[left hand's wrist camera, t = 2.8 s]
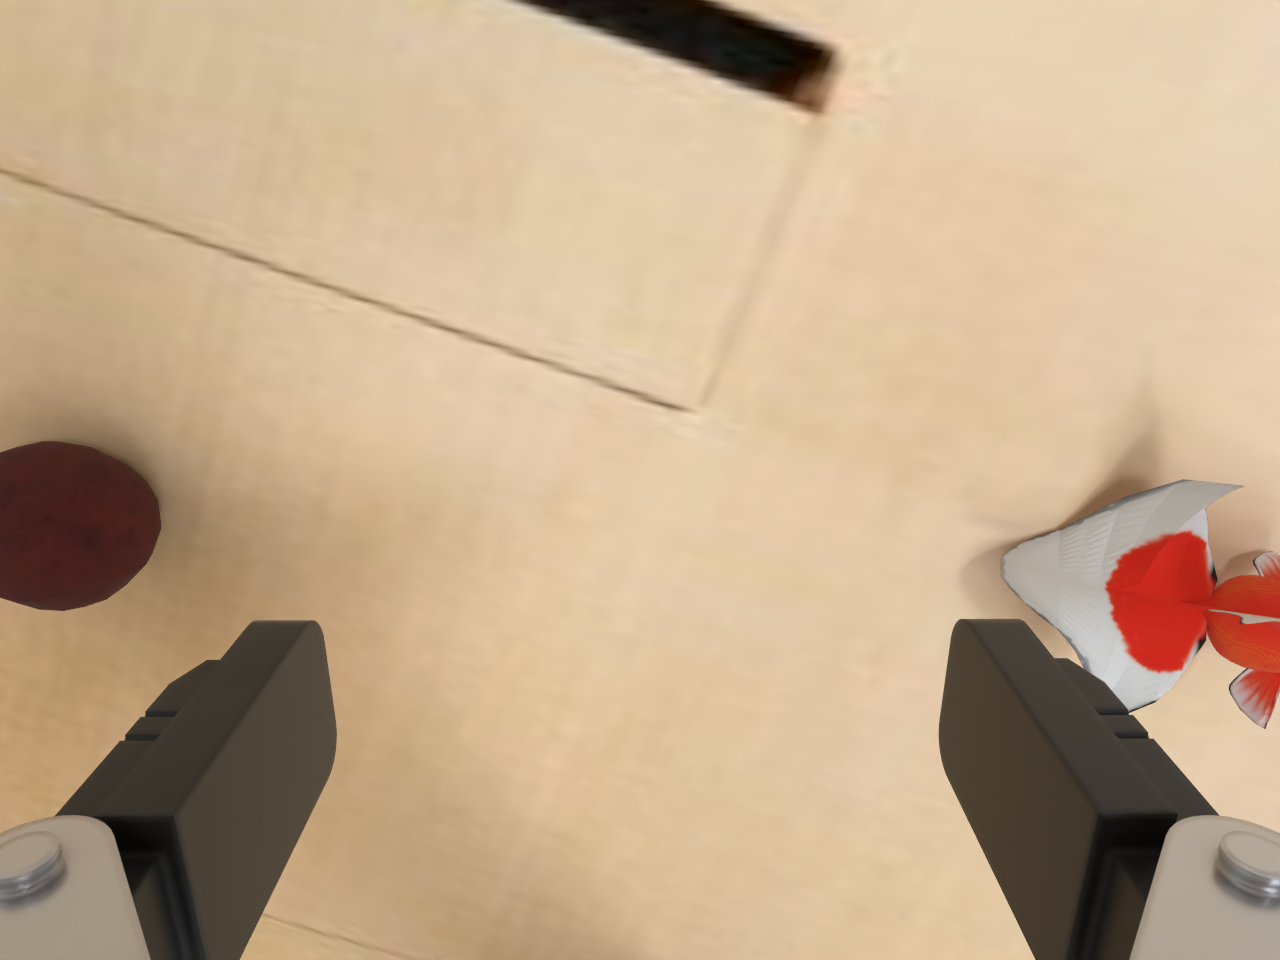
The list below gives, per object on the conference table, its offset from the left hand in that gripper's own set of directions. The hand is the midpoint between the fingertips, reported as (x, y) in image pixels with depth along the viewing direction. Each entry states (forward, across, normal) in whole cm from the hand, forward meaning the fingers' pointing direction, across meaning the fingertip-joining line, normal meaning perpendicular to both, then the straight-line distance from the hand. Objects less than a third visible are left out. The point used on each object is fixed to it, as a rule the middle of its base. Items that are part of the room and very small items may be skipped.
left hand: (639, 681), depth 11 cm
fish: (+29, +24, -13) cm, 40 cm away
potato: (+29, -25, -9) cm, 39 cm away
